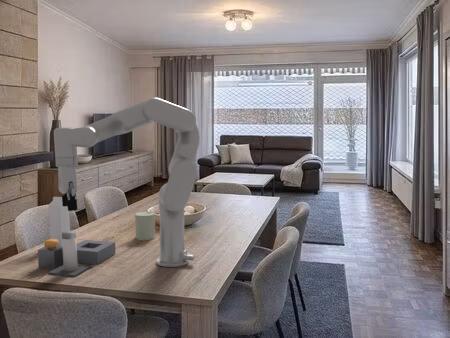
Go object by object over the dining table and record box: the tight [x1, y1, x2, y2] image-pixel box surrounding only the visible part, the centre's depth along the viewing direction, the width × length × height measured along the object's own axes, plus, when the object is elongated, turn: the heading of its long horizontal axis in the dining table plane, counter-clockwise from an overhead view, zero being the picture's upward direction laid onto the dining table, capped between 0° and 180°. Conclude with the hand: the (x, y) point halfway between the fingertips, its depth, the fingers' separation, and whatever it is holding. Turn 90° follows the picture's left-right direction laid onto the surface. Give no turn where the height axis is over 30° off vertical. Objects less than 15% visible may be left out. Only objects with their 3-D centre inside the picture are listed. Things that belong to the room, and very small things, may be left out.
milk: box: [48, 196, 71, 246], centre depth 201 cm, size 6×6×22 cm
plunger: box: [43, 238, 58, 249], centre depth 175 cm, size 5×5×8 cm
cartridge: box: [62, 230, 79, 271], centre depth 169 cm, size 5×5×14 cm
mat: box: [48, 263, 93, 278], centre depth 170 cm, size 11×11×1 cm
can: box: [134, 211, 156, 241], centre depth 215 cm, size 9×9×12 cm
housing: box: [77, 239, 117, 265], centre depth 185 cm, size 14×14×5 cm
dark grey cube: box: [37, 246, 63, 270], centre depth 175 cm, size 7×7×7 cm
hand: (69, 208), depth 167 cm, fingers open, 9 cm apart
